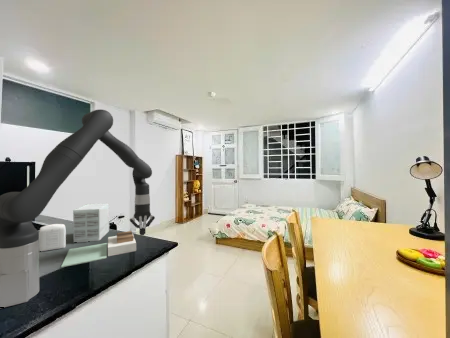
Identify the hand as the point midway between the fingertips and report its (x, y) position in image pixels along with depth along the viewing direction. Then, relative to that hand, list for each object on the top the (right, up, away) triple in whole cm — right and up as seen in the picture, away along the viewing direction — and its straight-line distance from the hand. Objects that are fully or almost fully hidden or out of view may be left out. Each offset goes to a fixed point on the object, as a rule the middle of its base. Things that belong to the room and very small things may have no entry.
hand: (142, 234), depth 106 cm
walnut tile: (-7, 0, -4) cm, 9 cm away
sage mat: (-21, -5, -12) cm, 25 cm away
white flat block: (-9, -5, -5) cm, 11 cm away
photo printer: (-43, -5, -6) cm, 43 cm away
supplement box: (-34, -5, +11) cm, 37 cm away
